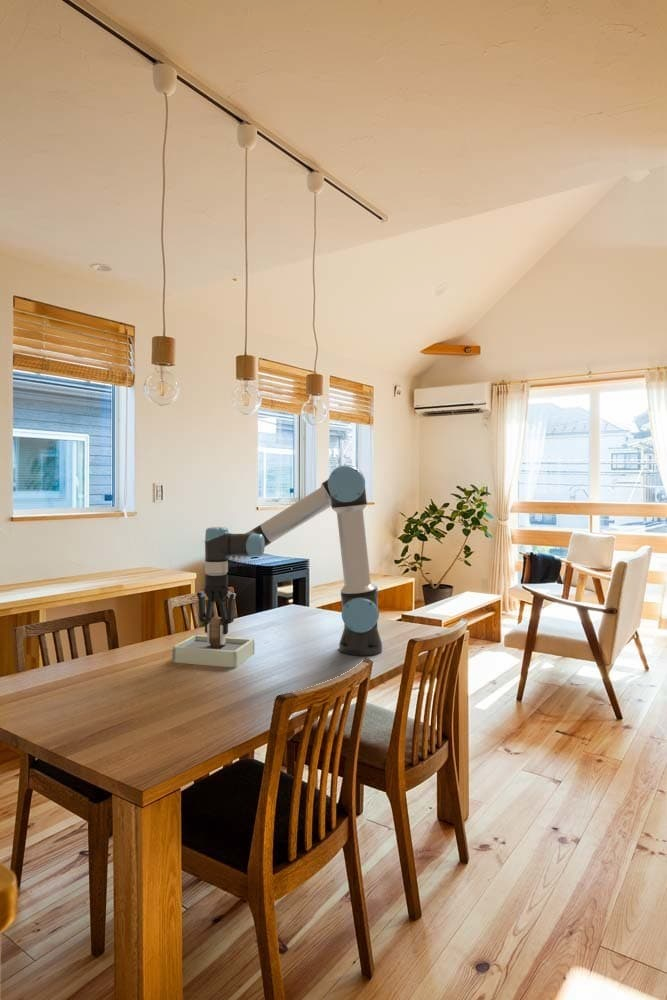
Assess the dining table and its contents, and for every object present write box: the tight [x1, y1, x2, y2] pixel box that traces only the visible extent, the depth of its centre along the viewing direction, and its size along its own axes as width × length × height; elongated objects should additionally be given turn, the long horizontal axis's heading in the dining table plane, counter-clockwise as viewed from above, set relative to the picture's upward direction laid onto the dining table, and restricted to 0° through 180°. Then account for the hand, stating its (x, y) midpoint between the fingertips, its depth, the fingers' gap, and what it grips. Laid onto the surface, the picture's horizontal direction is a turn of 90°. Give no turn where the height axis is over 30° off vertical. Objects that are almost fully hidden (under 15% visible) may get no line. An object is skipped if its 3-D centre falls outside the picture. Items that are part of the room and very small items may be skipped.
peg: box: [210, 616, 223, 649], centre depth 203 cm, size 4×4×12 cm
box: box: [171, 634, 255, 669], centre depth 202 cm, size 22×16×5 cm
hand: (216, 643), depth 203 cm, fingers closed on peg, 4 cm apart
